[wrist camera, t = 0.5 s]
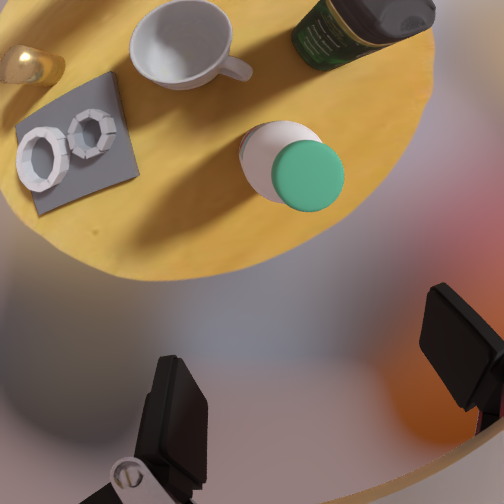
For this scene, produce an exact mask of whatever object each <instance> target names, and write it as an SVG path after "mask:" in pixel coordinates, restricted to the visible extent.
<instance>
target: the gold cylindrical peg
mask: <svg viewBox="0 0 504 504" xmlns="http://www.w3.org/2000/svg"><path fill="white" fill-rule="evenodd" d="M64 70H65V61H64V59H63V58H62V57H61V56H58V55H55V54H52V53H48V52H45V51H42V50H38V49H35V48H31V47H27V46H23V45H15V46H13V47H11V48H10V49H9V50H8V51H7V52H6V54H5V55H4V57H3V58H2V61H1V63H0V81H1V82H3V83H13V84H26V85H36V86H45V87H50V86H53V85H55V84H56V83H57V82H58V81H59V80H60V79H61V77H62V75H63V73H64Z"/></svg>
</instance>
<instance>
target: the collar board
mask: <svg viewBox="0 0 504 504" xmlns="http://www.w3.org/2000/svg"><path fill="white" fill-rule="evenodd" d="M15 128H16V133H17V138H18V143H19V146H18V149H17V157H16V167H17V171H18V175H19V179H20V178H21V179H20V180H21V181H22V183H23V184H24V185H25V186H26V187H27V188H28V189H29V190H31V193H32V196H33V199H34V202H35V205H36V208H37V211H38V214H39V215H41V214H43V213H45V212H47V211H49V210H52V209H54V208H56V207H58V206H61V205H63V204H65V203H68V202H70V201H72V200H75V199H77V198H80V197H82V196H85V195H87V194H90V193H92V192H95V191H98V190H100V189H103V188H105V187H108V186H111V185H114V184H116V183H119V182H122V181H125V180H128V179H131V178H134V177H137V176H138V175H140V173H139V170H138V166H137V163H136V159H135V155H134V152H133V148H132V144H131V140H130V137H129V133H128V129H127V125H126V121H125V116H124V112H123V108H122V103H121V99H120V94H119V90H118V85H117V80H116V75H115V73H114V72H112V71H110V72H108V73H105V74H103V75H101V76H99V77H97V78H95V79H93V80H91V81H89V82H87V83H85V84H83V85H81V86H79V87H77V88H75V89H73V90H71V91H69V92H68V93H66V94H64V95H62V96H61V97H59V98H57V99H55V100H54V101H52V102H50V103H49V104H47V105H46V106H44V107H42V108H41V109H39V110H38V111H36V112H35V113H33V114H32V115H30V116H29V117H27V118H26V119H24V120H23V121H21V122H20V123H19V124H17V125H16V126H15Z"/></svg>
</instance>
